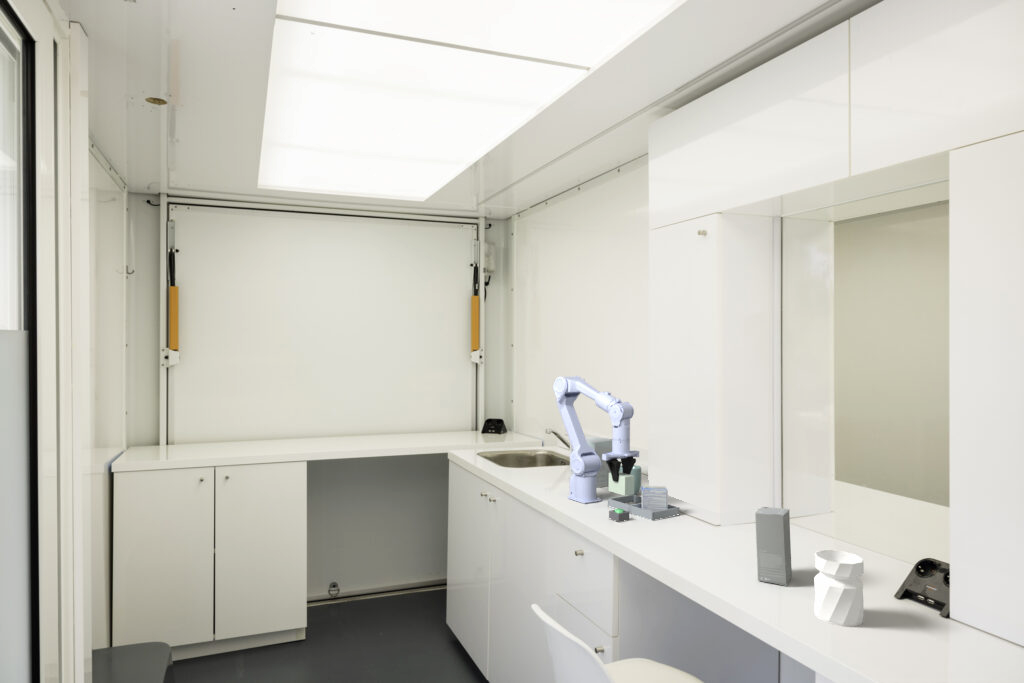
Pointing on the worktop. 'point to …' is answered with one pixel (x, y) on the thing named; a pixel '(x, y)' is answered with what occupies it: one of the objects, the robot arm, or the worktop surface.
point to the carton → (622, 484)
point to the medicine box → (654, 498)
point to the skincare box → (773, 545)
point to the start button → (619, 510)
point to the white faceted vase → (838, 587)
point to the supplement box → (600, 448)
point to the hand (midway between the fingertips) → (620, 480)
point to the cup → (635, 477)
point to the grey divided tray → (636, 508)
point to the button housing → (619, 515)
